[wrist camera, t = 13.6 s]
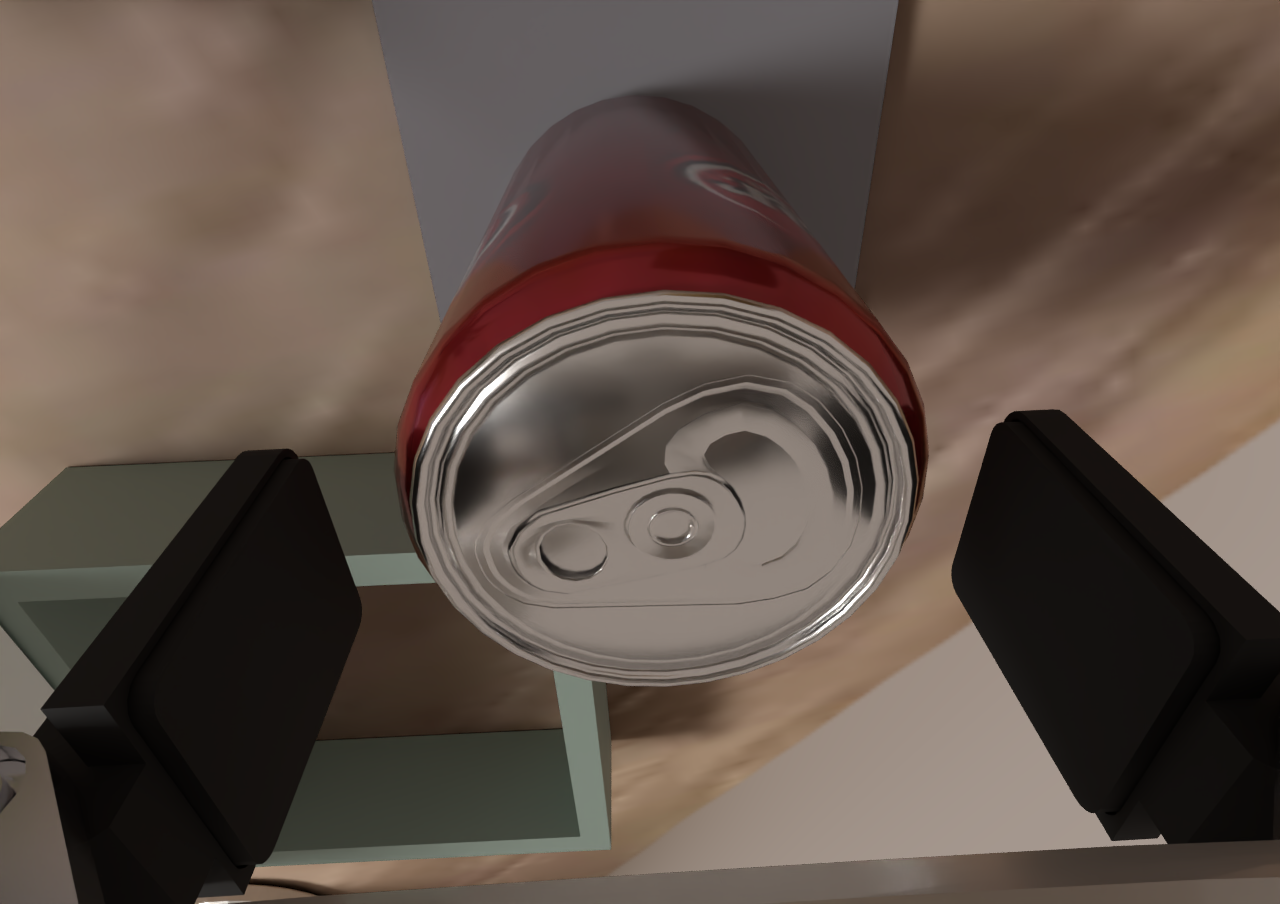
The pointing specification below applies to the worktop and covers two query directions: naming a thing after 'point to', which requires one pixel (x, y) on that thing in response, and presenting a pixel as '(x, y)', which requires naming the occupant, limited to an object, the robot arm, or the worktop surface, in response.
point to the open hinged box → (337, 769)
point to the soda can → (656, 414)
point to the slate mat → (634, 65)
